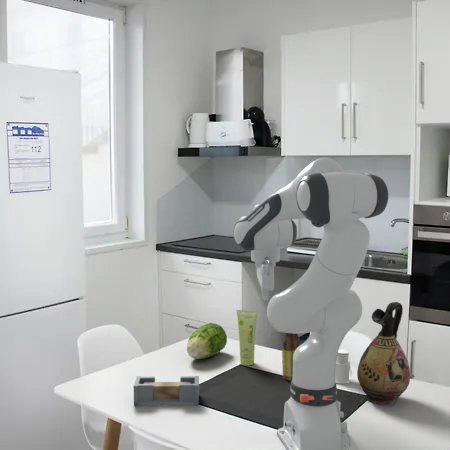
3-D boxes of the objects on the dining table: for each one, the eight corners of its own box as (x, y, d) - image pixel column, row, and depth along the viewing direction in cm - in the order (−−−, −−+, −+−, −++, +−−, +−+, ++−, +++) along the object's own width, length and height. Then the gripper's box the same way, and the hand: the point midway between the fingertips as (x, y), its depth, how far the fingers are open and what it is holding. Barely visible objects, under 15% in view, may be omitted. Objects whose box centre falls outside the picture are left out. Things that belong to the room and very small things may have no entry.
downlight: (334, 385, 197) (336, 355, 197) (324, 378, 204) (325, 348, 203) (356, 383, 200) (358, 353, 199) (345, 376, 207) (347, 347, 206)
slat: (190, 394, 187) (190, 381, 186) (190, 398, 183) (190, 386, 183) (144, 394, 186) (144, 382, 186) (143, 399, 183) (143, 386, 182)
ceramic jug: (388, 414, 175) (392, 311, 172) (346, 398, 187) (348, 301, 184) (422, 399, 186) (426, 303, 183) (380, 385, 198) (383, 294, 195)
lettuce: (177, 364, 218) (177, 333, 216) (202, 348, 237) (202, 319, 235) (207, 368, 213) (207, 336, 212) (229, 351, 232) (229, 322, 231)
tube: (243, 367, 215) (243, 312, 212) (236, 362, 219) (236, 309, 217) (256, 364, 217) (257, 310, 215) (249, 360, 222) (250, 307, 220)
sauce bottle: (301, 375, 206) (302, 317, 204) (301, 382, 200) (302, 322, 198) (281, 374, 207) (282, 317, 205) (281, 381, 201) (282, 322, 199)
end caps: (198, 394, 189) (198, 376, 188) (198, 405, 181) (198, 385, 180) (137, 395, 189) (136, 376, 188) (133, 405, 181) (133, 385, 180)
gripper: (279, 260, 179) (278, 307, 180) (272, 250, 199) (271, 292, 201) (257, 260, 179) (257, 307, 180) (253, 250, 199) (252, 292, 200)
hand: (264, 299), depth 190 cm, fingers closed
